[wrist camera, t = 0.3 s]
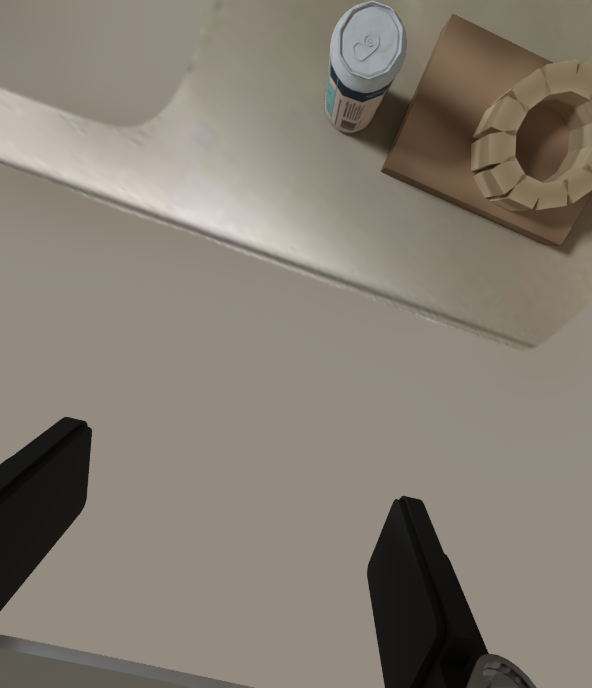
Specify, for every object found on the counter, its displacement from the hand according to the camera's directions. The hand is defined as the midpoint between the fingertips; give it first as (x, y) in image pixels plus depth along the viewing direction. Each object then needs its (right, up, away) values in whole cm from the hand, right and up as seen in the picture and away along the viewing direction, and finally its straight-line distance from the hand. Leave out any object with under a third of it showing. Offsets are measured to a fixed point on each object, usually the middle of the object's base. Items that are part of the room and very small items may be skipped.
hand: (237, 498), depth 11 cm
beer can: (+7, +27, +23) cm, 36 cm away
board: (+21, +23, +23) cm, 39 cm away
